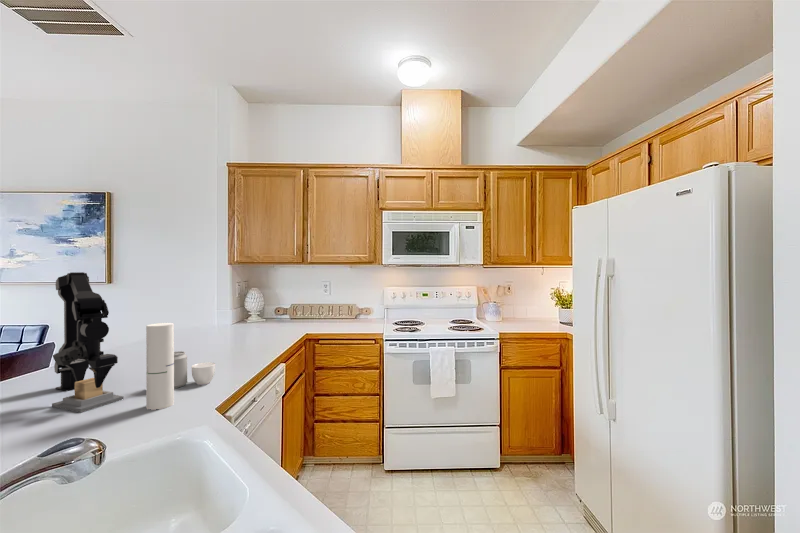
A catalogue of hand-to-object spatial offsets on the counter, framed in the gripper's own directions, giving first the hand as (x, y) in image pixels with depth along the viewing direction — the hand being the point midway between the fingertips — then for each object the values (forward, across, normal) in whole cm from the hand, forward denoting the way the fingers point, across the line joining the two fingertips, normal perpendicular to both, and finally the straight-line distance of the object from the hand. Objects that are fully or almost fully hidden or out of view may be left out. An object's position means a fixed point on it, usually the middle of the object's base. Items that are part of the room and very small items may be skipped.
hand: (88, 386), depth 118 cm
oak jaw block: (+4, 0, 0) cm, 4 cm away
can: (+6, +10, +22) cm, 25 cm away
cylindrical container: (+6, +24, +6) cm, 25 cm away
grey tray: (+5, 0, 0) cm, 5 cm away
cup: (+6, +16, +28) cm, 33 cm away
